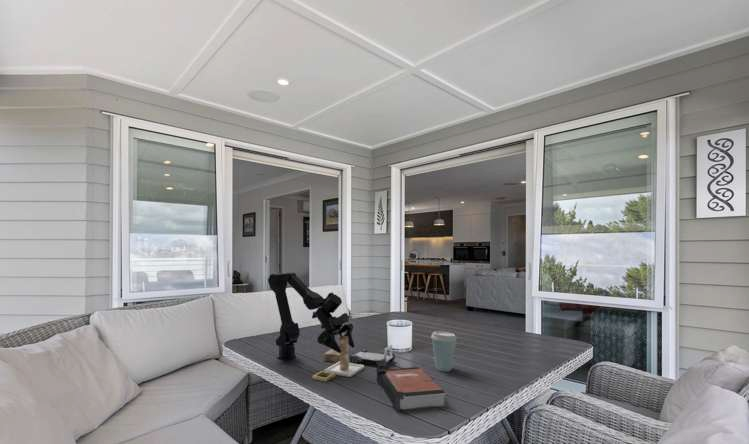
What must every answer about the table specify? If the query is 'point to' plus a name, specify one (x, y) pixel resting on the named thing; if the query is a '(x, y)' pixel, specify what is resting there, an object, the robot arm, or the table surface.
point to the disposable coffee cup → (443, 349)
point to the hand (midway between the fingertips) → (347, 349)
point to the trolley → (374, 357)
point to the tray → (352, 370)
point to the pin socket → (317, 377)
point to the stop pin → (344, 353)
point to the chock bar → (332, 356)
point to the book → (410, 388)
